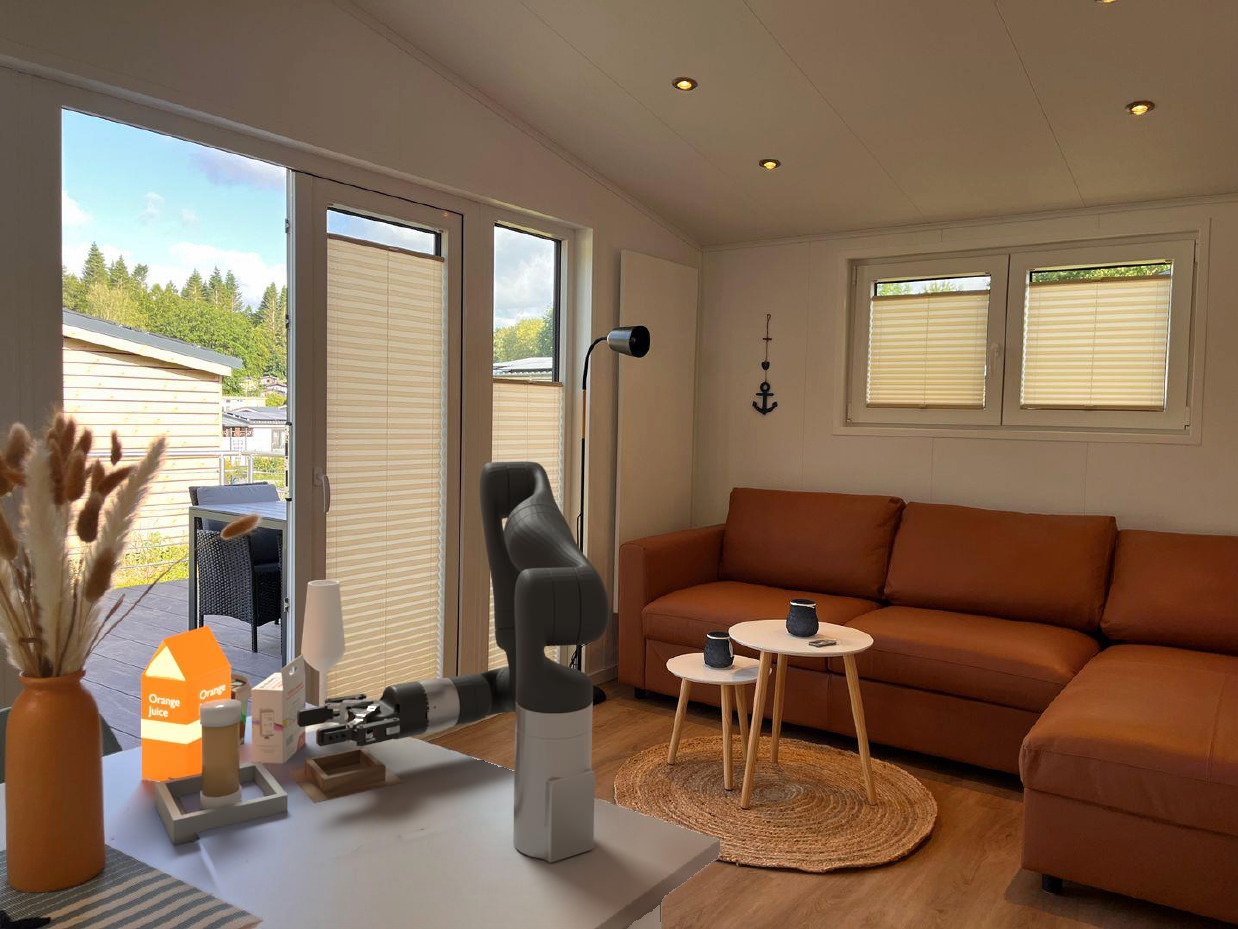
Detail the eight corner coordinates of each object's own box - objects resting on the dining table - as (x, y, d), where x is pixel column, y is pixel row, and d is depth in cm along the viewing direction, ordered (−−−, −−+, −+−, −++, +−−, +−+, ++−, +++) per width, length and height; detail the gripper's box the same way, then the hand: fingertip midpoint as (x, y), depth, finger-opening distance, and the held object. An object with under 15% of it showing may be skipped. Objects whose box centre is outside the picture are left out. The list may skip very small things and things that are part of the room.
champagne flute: (293, 737, 140) (294, 586, 139) (310, 722, 147) (311, 578, 146) (336, 739, 140) (336, 587, 139) (350, 724, 147) (351, 579, 146)
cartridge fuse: (245, 807, 114) (245, 707, 113) (204, 817, 111) (203, 713, 110) (236, 794, 117) (236, 696, 117) (196, 803, 115) (196, 703, 114)
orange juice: (232, 763, 130) (232, 627, 129) (187, 787, 121) (186, 641, 120) (187, 757, 132) (186, 622, 131) (140, 780, 123) (139, 636, 122)
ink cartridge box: (274, 747, 136) (274, 652, 135) (306, 748, 136) (306, 653, 135) (249, 769, 128) (249, 668, 127) (284, 770, 128) (284, 669, 127)
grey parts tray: (287, 818, 113) (287, 795, 112) (173, 845, 105) (173, 820, 105) (260, 782, 123) (260, 761, 123) (155, 805, 116) (155, 782, 115)
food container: (271, 742, 138) (271, 678, 138) (239, 756, 132) (239, 689, 132) (212, 729, 143) (212, 668, 143) (179, 742, 138) (179, 678, 137)
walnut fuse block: (403, 789, 122) (403, 767, 122) (314, 810, 115) (314, 787, 115) (371, 760, 132) (371, 740, 132) (287, 778, 125) (287, 757, 125)
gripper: (401, 669, 135) (291, 687, 125) (442, 694, 124) (324, 715, 114) (401, 718, 135) (291, 739, 126) (441, 748, 124) (324, 773, 114)
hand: (307, 728), depth 120 cm, fingers open, 8 cm apart
